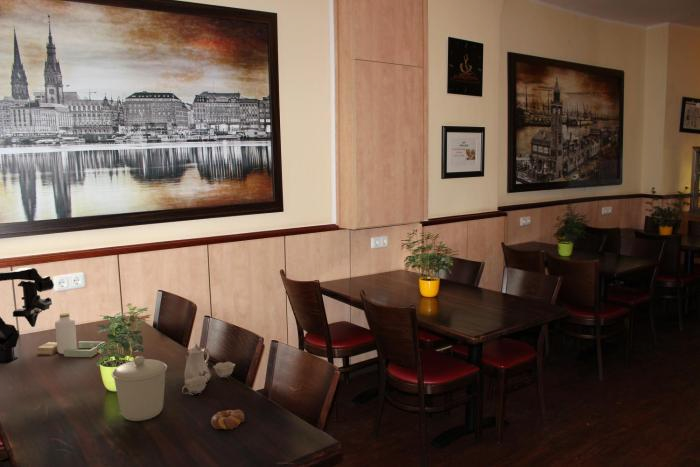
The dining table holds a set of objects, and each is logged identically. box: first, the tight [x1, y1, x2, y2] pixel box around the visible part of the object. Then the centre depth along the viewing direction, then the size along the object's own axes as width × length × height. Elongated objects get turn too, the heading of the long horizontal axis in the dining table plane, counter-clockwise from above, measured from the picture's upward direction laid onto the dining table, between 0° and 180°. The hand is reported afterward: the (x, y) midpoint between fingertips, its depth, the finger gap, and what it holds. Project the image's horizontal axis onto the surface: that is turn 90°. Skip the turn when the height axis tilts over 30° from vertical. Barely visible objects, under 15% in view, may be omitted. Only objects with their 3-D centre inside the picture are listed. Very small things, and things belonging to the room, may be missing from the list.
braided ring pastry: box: [210, 409, 245, 430], centre depth 191 cm, size 12×11×4 cm
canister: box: [111, 355, 168, 422], centre depth 197 cm, size 18×18×21 cm
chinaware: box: [181, 343, 236, 395], centre depth 224 cm, size 28×17×17 cm, turn 161°
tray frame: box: [63, 340, 106, 358], centre depth 266 cm, size 13×13×3 cm
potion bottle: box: [54, 313, 78, 355], centre depth 266 cm, size 8×8×18 cm
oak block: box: [37, 341, 58, 355], centre depth 268 cm, size 8×7×4 cm
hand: (33, 326), depth 267 cm, fingers closed
